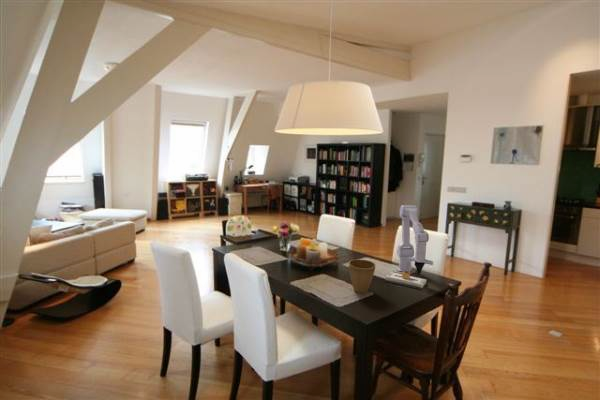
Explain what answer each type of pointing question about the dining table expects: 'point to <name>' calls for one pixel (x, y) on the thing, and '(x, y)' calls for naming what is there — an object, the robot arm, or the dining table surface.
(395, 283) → the dressed cords
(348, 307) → the dining table surface
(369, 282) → the plant pot
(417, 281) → the white slider switch panel
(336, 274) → the dining table surface
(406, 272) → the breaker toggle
